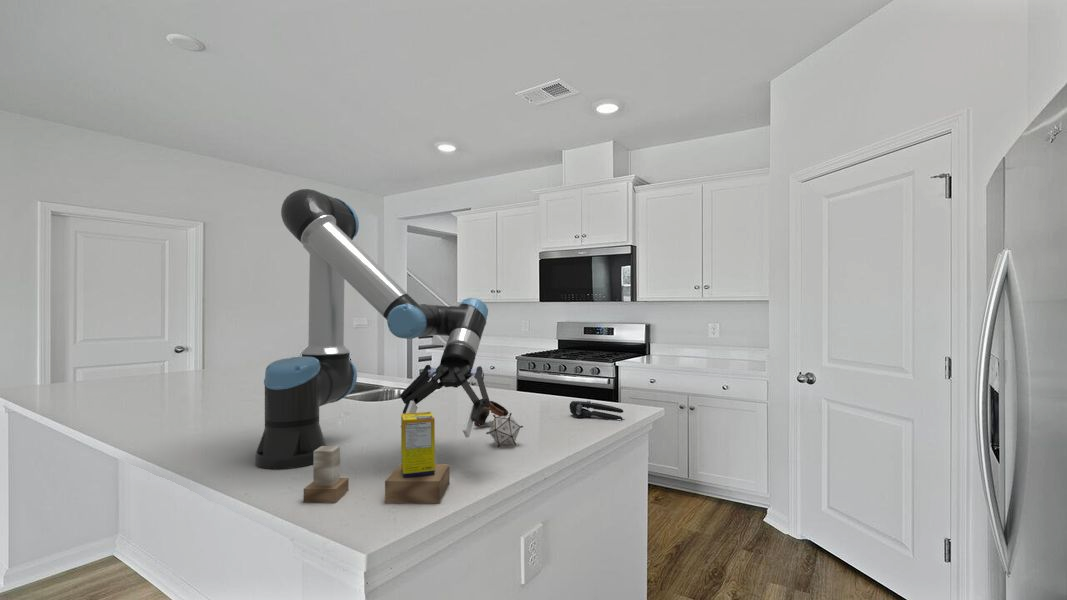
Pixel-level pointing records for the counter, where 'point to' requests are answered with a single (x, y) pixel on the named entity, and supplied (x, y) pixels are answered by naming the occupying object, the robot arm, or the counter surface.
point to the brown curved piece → (494, 408)
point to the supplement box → (417, 444)
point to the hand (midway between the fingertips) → (434, 432)
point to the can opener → (581, 412)
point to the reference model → (326, 477)
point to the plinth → (417, 486)
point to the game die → (504, 430)
